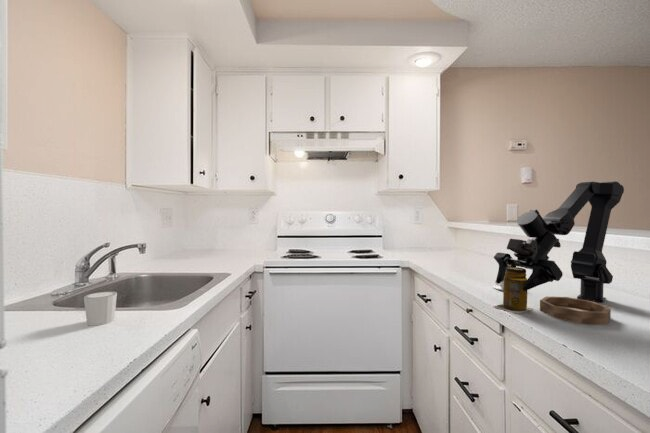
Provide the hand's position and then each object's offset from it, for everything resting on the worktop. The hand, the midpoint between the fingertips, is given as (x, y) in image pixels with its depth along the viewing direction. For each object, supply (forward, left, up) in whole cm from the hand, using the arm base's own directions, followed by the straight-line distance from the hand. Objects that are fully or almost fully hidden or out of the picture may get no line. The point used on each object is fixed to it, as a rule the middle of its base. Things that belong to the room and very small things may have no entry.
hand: (509, 286), depth 91 cm
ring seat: (-8, +14, -7) cm, 17 cm away
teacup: (-25, -9, -7) cm, 27 cm away
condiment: (-1, +1, -7) cm, 7 cm away
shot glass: (+94, -62, -7) cm, 113 cm away
